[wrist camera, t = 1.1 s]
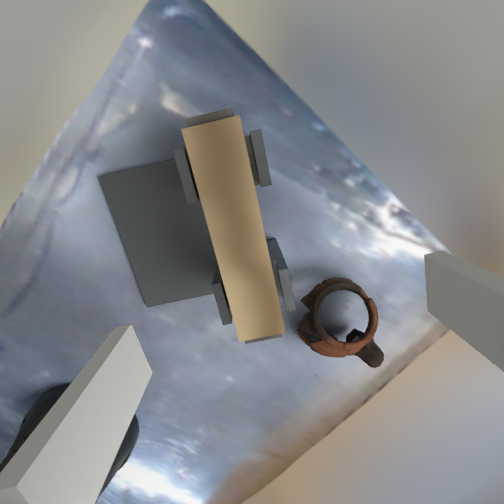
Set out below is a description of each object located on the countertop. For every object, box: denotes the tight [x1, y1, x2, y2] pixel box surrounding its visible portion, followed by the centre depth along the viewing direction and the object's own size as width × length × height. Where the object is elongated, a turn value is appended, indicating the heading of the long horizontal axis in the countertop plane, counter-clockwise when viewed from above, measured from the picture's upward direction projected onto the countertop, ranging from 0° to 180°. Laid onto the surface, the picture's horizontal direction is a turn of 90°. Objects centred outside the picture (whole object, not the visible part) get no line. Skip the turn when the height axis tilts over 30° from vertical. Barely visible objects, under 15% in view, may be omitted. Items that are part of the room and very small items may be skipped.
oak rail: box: [181, 108, 286, 344], centre depth 23 cm, size 4×18×4 cm, turn 12°
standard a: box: [212, 238, 296, 325], centre depth 29 cm, size 7×4×10 cm, turn 102°
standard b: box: [173, 129, 272, 204], centre depth 26 cm, size 7×4×10 cm, turn 102°
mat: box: [98, 159, 218, 307], centre depth 32 cm, size 10×16×1 cm, turn 12°
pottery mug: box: [297, 278, 384, 368], centre depth 34 cm, size 12×10×8 cm
